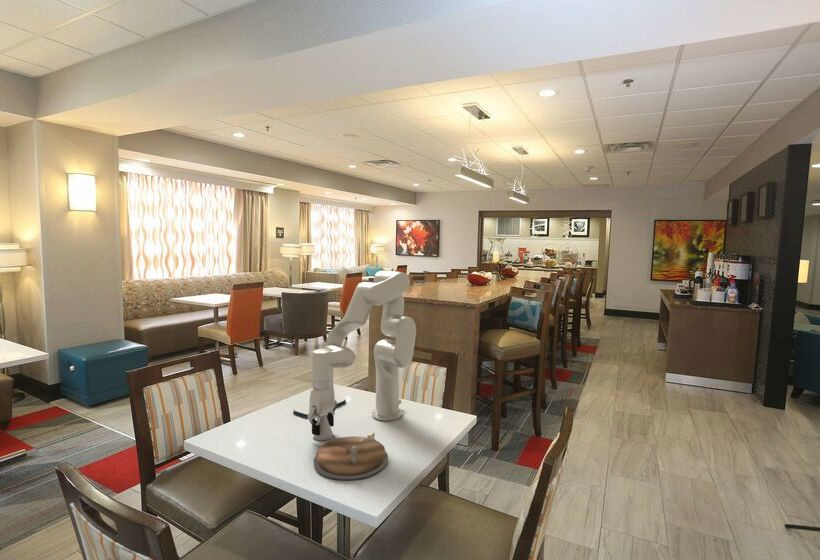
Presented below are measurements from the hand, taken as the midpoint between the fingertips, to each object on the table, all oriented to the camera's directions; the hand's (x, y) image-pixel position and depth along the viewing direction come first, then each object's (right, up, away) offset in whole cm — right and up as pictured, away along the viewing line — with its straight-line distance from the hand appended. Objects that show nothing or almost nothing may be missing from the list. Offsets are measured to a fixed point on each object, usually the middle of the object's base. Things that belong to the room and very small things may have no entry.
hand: (322, 429), depth 158 cm
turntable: (+13, -3, -18) cm, 22 cm away
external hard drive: (-7, -1, +29) cm, 29 cm away
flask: (0, -3, 0) cm, 3 cm away
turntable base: (+13, -4, -16) cm, 21 cm away
